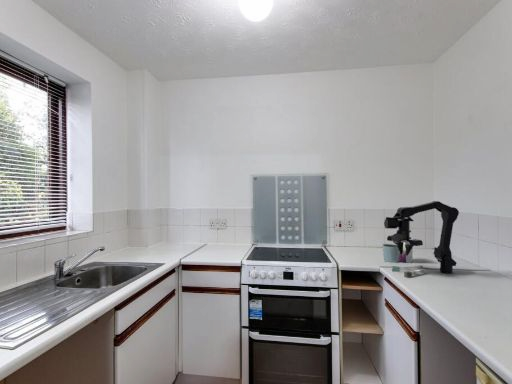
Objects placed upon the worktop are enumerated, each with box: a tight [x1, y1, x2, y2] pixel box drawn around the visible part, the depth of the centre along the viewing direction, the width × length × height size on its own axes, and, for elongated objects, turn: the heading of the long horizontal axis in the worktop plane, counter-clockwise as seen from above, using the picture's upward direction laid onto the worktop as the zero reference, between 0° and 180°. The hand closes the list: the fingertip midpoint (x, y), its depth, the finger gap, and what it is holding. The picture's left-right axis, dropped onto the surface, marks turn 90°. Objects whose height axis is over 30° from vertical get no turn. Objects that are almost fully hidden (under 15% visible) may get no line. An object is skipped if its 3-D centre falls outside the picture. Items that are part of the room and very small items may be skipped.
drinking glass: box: [382, 243, 399, 264], centre depth 170 cm, size 10×10×12 cm
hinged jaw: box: [390, 265, 419, 273], centre depth 147 cm, size 14×2×3 cm, turn 79°
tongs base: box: [403, 265, 426, 278], centre depth 145 cm, size 18×18×5 cm
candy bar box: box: [398, 238, 413, 264], centre depth 173 cm, size 11×5×16 cm, turn 179°
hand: (404, 254), depth 149 cm, fingers open, 3 cm apart
